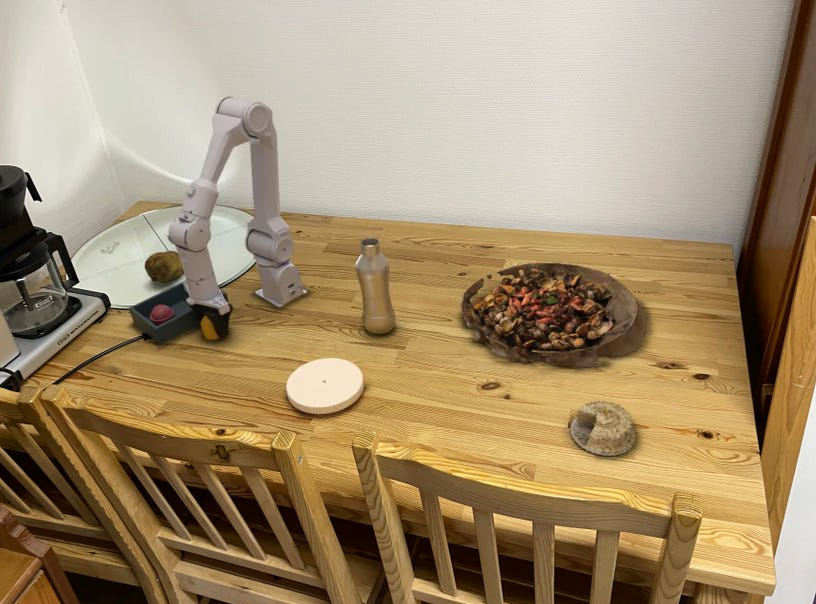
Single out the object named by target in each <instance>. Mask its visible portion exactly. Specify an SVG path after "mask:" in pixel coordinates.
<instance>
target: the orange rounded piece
mask: <svg viewBox="0 0 816 604" xmlns="http://www.w3.org/2000/svg"><path fill="white" fill-rule="evenodd" d="M200 327H201V330H202V334H203V336H204V338H205V339H207V340H218V339H220V338H219V337H218V336H217V334H216V332H215V329H214V327H213V325H212V323H211V322H210V320H209V319H208V318H207V317H206V316H204V317H203V319H202V320H201V324H200Z"/></svg>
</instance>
